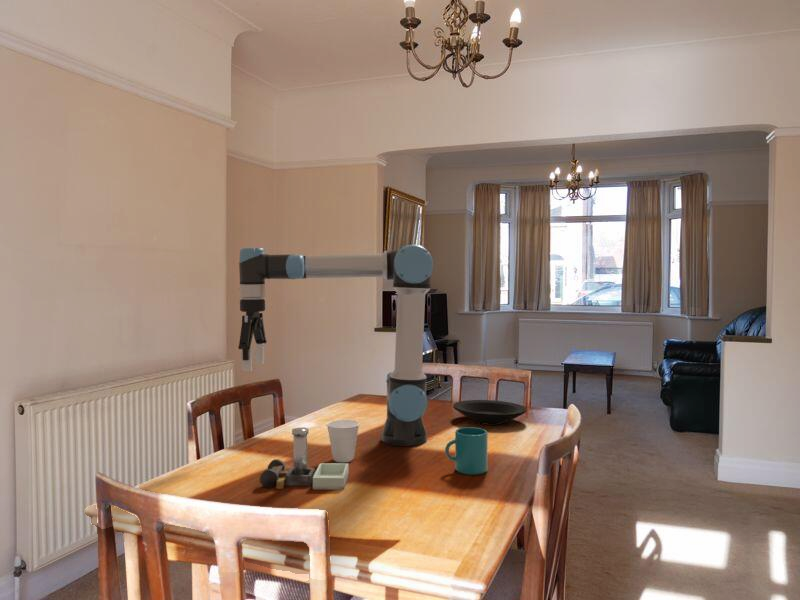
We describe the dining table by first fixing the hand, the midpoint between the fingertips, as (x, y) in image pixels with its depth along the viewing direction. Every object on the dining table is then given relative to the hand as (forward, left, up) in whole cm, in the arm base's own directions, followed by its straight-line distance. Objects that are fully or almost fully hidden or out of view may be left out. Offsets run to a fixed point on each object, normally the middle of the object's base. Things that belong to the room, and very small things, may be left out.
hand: (253, 367), depth 184 cm
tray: (-27, +24, -27) cm, 45 cm away
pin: (-19, +24, -27) cm, 41 cm away
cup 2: (-64, +14, -27) cm, 71 cm away
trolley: (-16, +24, -27) cm, 40 cm away
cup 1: (-28, +5, -27) cm, 39 cm away
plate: (-78, -44, -27) cm, 94 cm away
